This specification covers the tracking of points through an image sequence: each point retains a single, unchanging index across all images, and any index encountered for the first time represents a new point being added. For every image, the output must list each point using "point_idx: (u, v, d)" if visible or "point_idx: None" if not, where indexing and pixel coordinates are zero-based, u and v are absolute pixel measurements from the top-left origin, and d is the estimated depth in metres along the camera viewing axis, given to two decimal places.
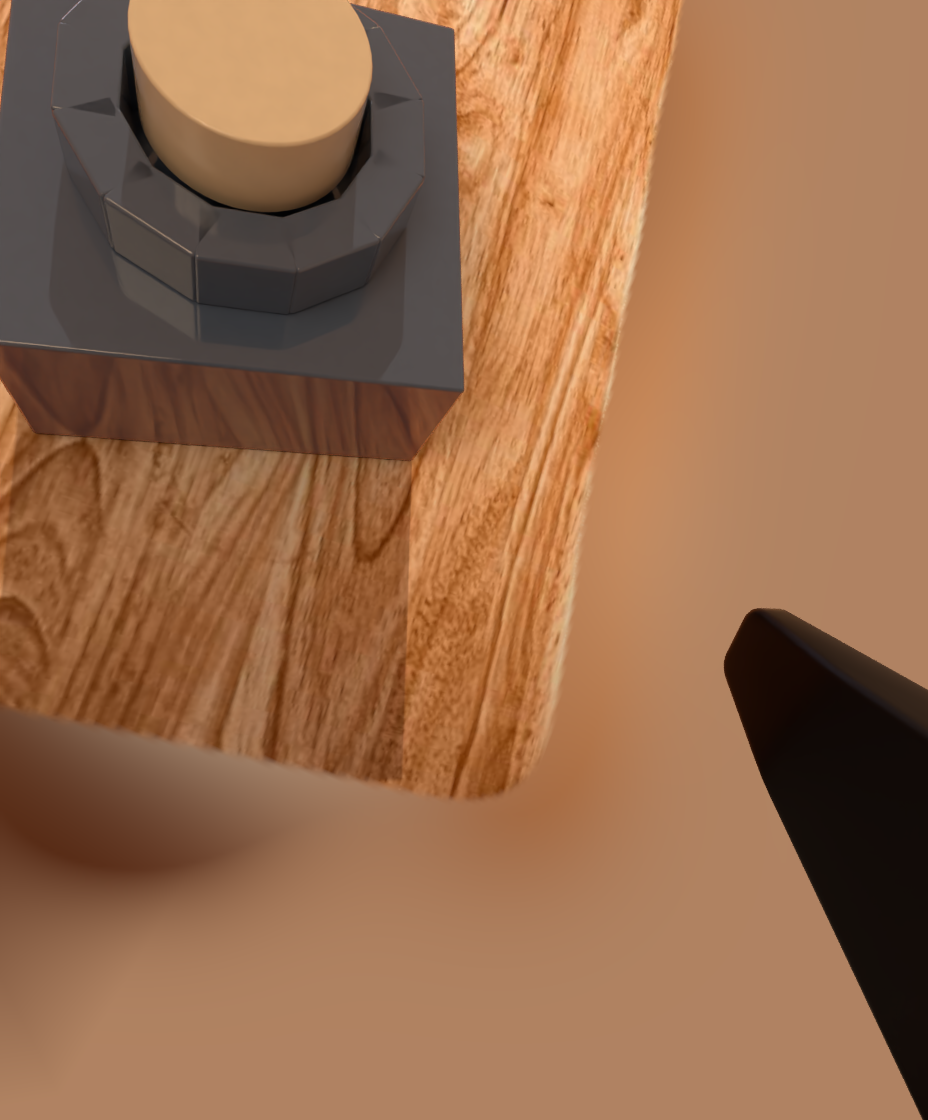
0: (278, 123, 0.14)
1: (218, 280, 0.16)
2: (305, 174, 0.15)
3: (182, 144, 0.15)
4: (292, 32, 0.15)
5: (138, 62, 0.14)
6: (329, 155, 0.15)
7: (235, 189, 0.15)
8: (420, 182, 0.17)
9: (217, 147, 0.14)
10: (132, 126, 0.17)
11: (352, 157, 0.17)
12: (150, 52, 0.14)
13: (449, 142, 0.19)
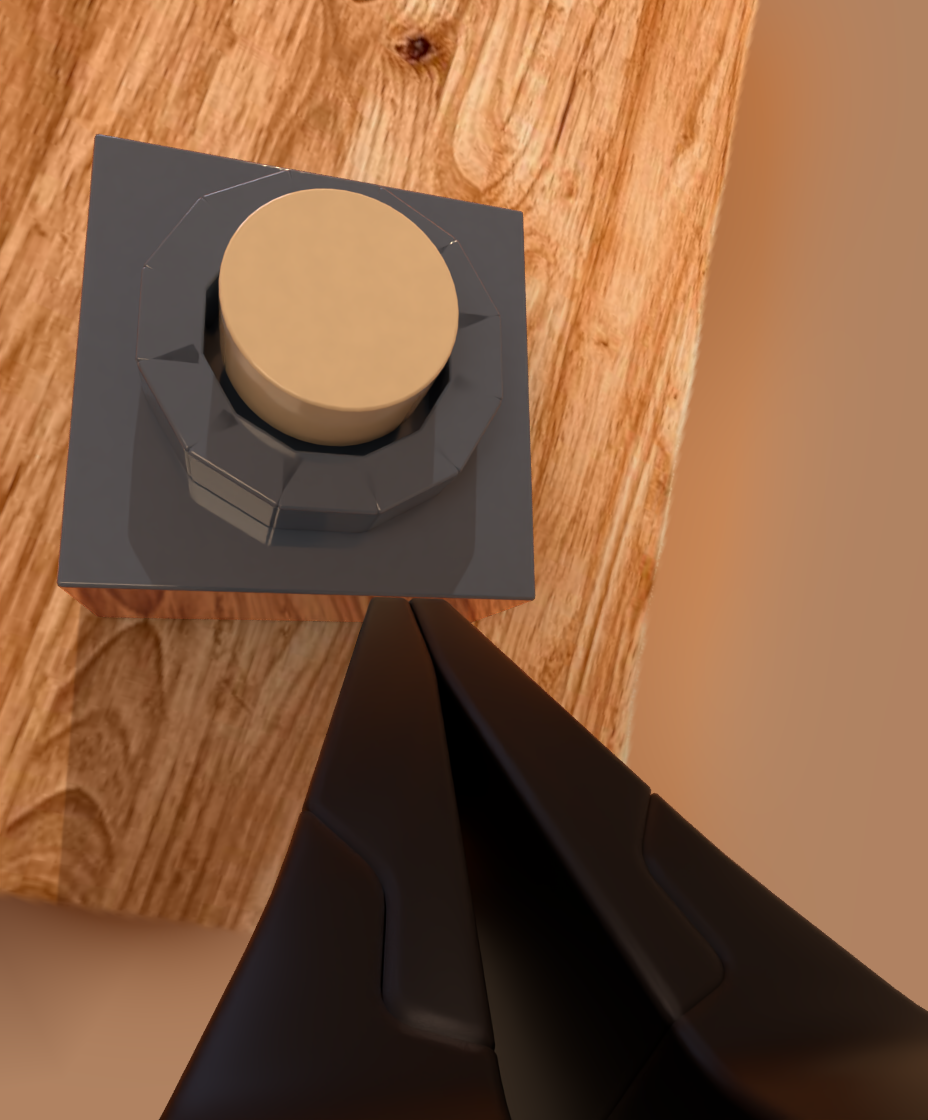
0: (367, 386, 0.14)
1: (298, 518, 0.16)
2: (389, 420, 0.15)
3: (269, 401, 0.14)
4: (380, 285, 0.15)
5: (230, 333, 0.14)
6: (414, 402, 0.15)
7: (318, 434, 0.15)
8: (498, 405, 0.17)
9: (306, 410, 0.14)
10: (207, 343, 0.17)
11: None
12: (242, 323, 0.14)
13: (519, 334, 0.19)
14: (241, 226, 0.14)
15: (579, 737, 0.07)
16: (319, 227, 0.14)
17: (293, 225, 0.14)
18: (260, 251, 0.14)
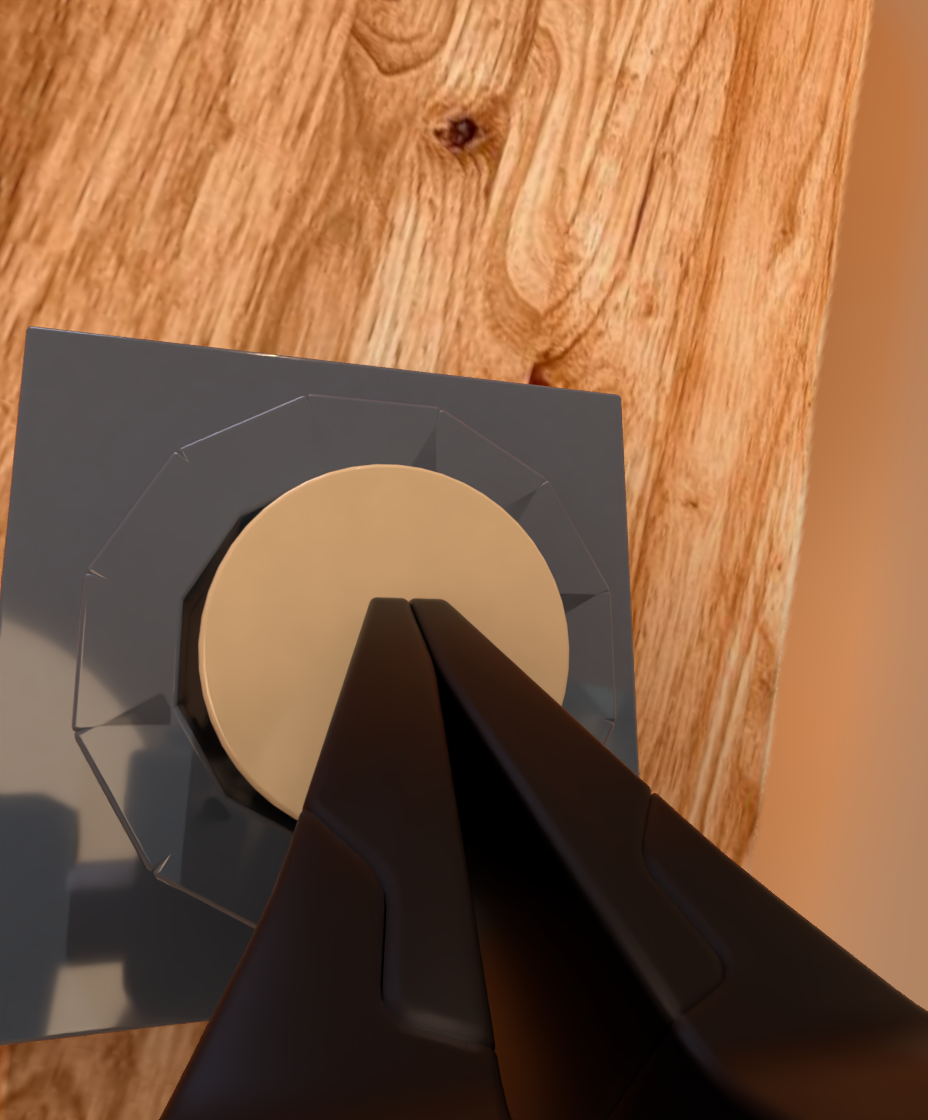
0: None
1: None
2: None
3: None
4: None
5: (216, 733, 0.08)
6: None
7: None
8: (610, 731, 0.11)
9: None
10: (188, 634, 0.12)
11: None
12: (235, 715, 0.08)
13: (619, 574, 0.14)
14: (235, 547, 0.09)
15: (579, 737, 0.07)
16: (358, 532, 0.09)
17: (318, 535, 0.09)
18: (266, 585, 0.09)
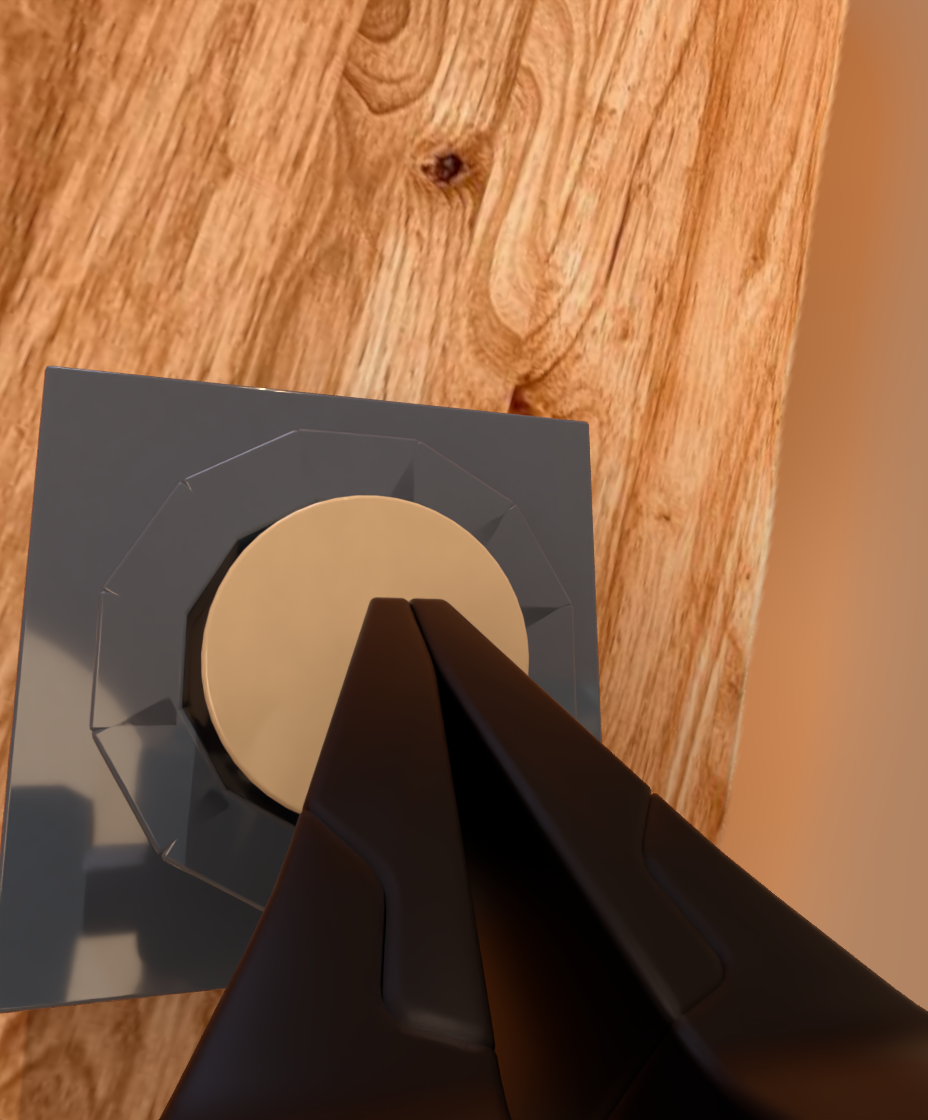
0: None
1: None
2: None
3: None
4: None
5: None
6: None
7: None
8: None
9: None
10: (191, 643, 0.13)
11: None
12: (233, 716, 0.10)
13: (586, 587, 0.15)
14: (233, 570, 0.10)
15: (579, 737, 0.07)
16: (341, 556, 0.10)
17: (307, 558, 0.10)
18: (260, 603, 0.10)
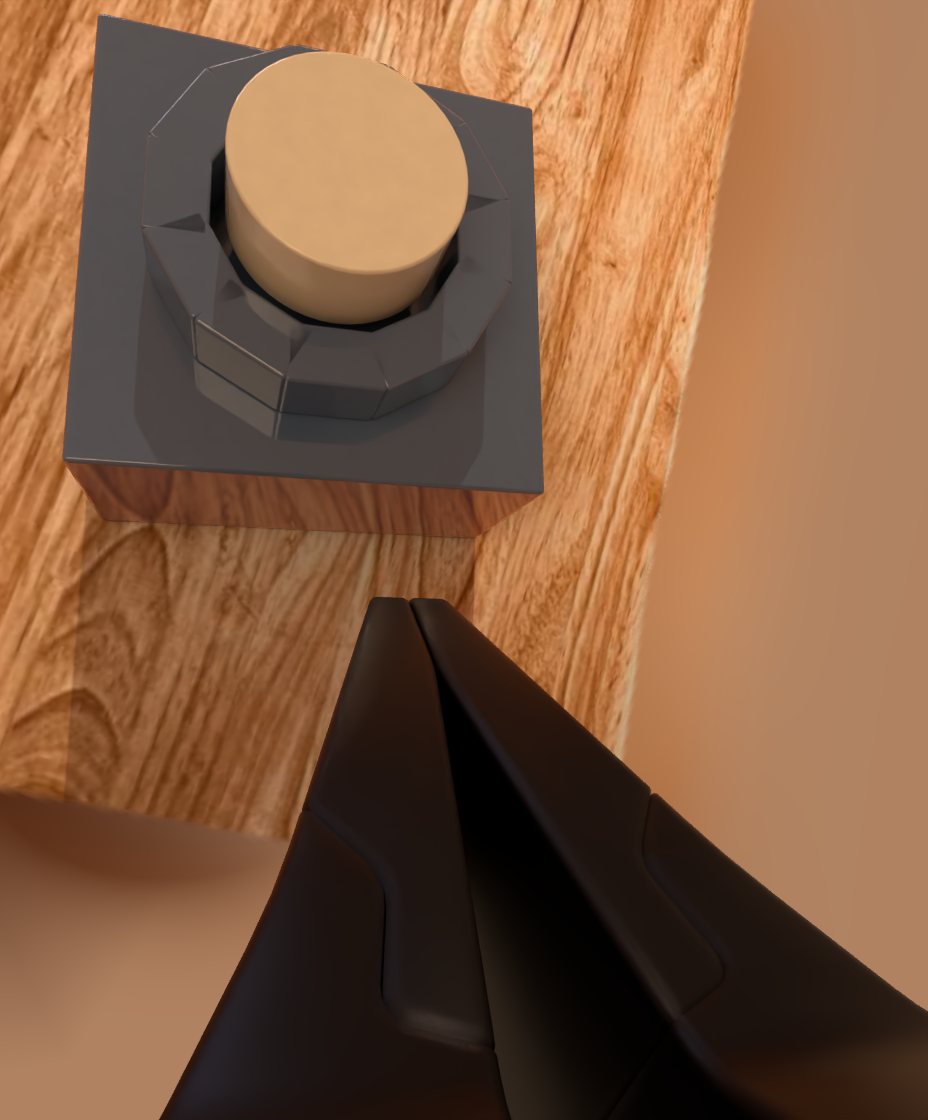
0: (376, 249, 0.14)
1: (305, 396, 0.15)
2: (397, 293, 0.15)
3: (276, 267, 0.14)
4: (389, 150, 0.14)
5: (236, 191, 0.13)
6: (423, 273, 0.15)
7: (325, 307, 0.15)
8: (507, 288, 0.16)
9: (314, 274, 0.14)
10: (213, 227, 0.17)
11: None
12: (249, 180, 0.13)
13: (528, 230, 0.19)
14: (248, 84, 0.14)
15: (579, 737, 0.07)
16: (327, 89, 0.14)
17: (301, 86, 0.14)
18: (268, 110, 0.14)
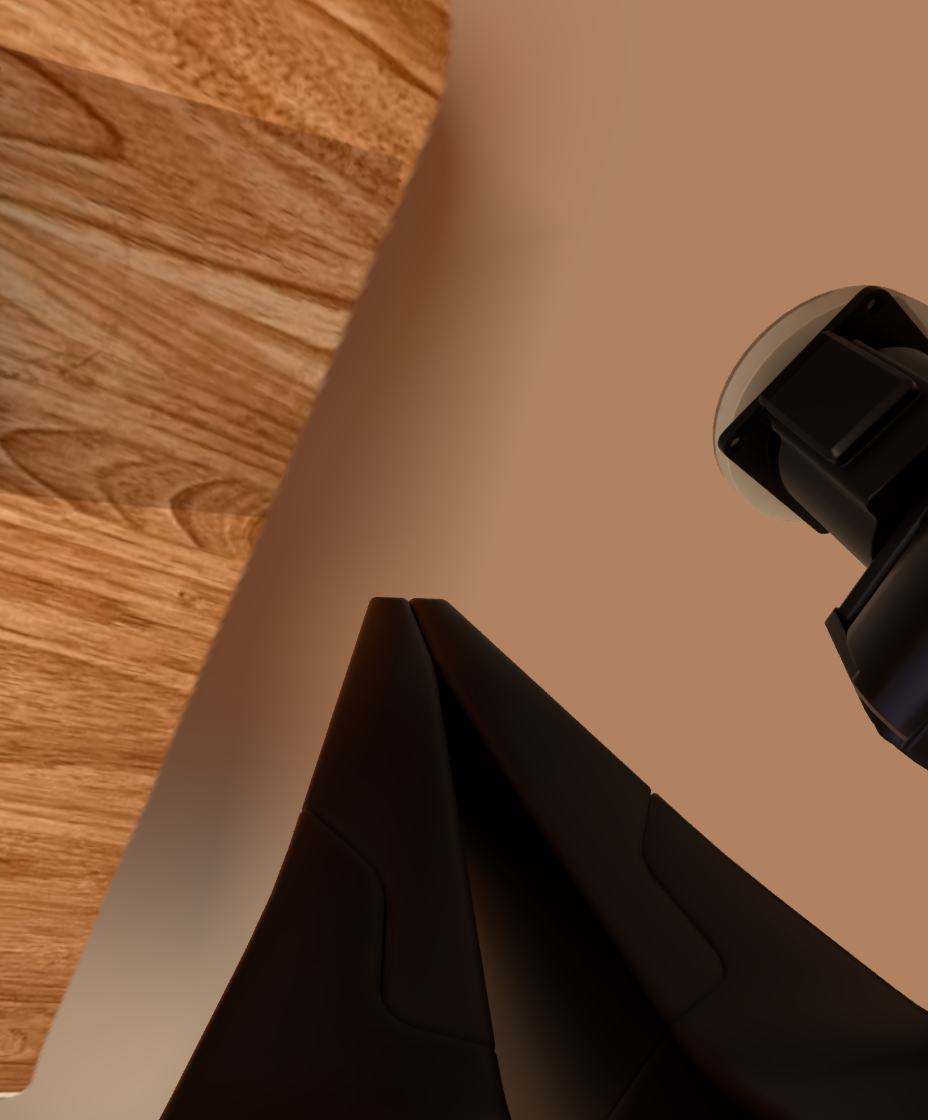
0: None
1: None
2: None
3: None
4: None
5: None
6: None
7: None
8: None
9: None
10: None
11: None
12: None
13: None
14: None
15: (579, 737, 0.07)
16: None
17: None
18: None
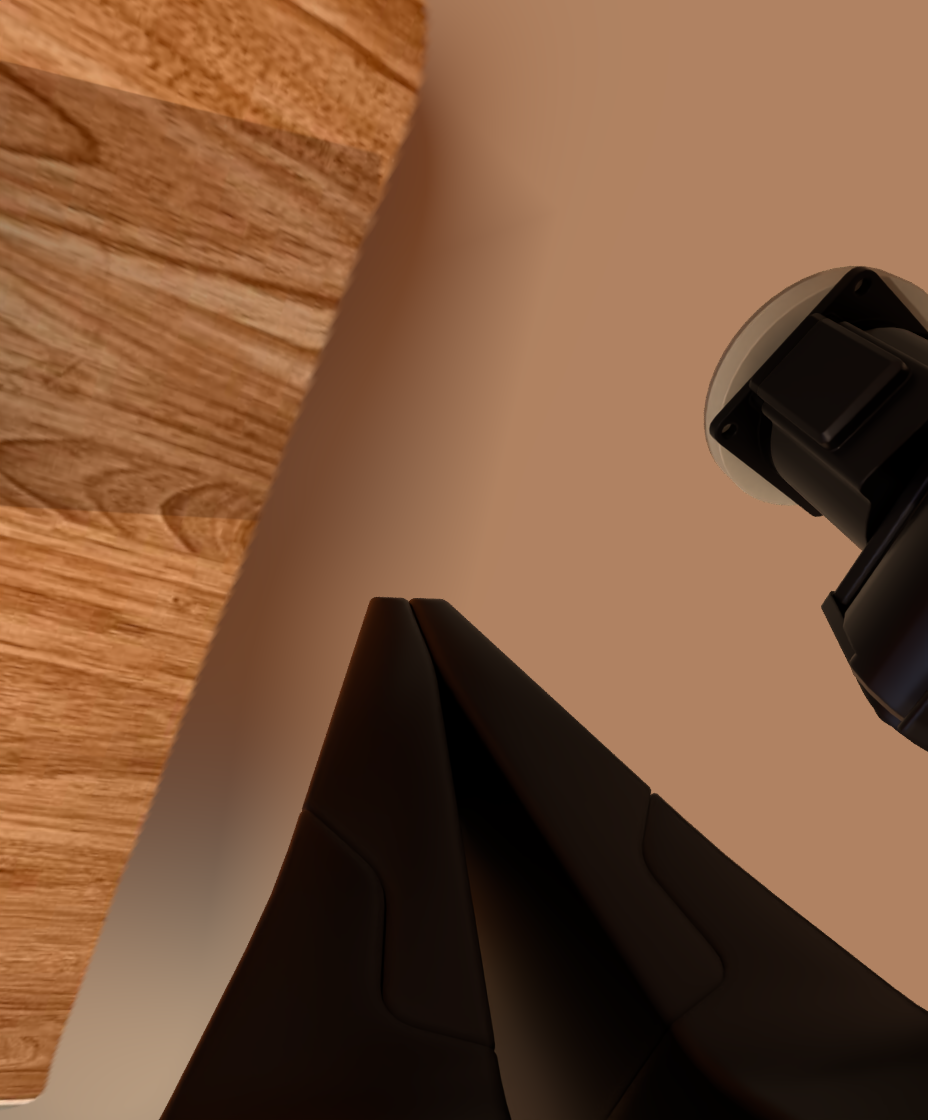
0: None
1: None
2: None
3: None
4: None
5: None
6: None
7: None
8: None
9: None
10: None
11: None
12: None
13: None
14: None
15: (579, 737, 0.07)
16: None
17: None
18: None
